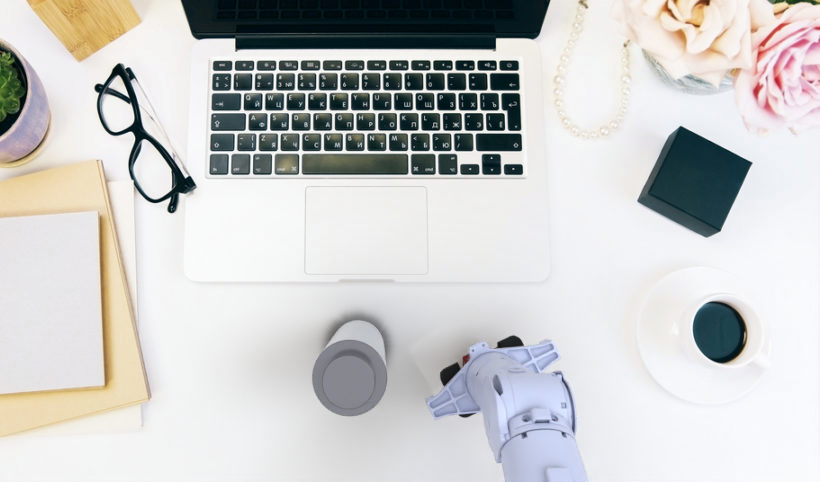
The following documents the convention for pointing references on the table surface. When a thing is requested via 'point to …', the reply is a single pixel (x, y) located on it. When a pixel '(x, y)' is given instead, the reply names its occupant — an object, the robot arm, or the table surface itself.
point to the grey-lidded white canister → (351, 370)
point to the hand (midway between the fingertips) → (478, 366)
